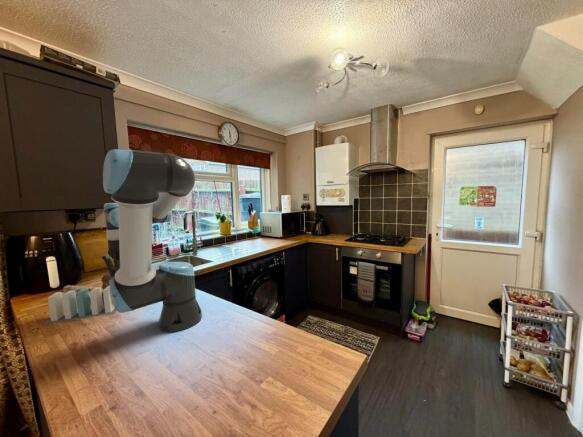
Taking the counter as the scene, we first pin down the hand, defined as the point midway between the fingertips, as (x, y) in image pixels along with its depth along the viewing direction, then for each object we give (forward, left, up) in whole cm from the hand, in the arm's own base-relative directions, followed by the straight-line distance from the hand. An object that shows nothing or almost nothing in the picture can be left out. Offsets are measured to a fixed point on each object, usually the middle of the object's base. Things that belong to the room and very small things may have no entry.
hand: (123, 291), depth 104 cm
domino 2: (+13, +15, -8) cm, 21 cm away
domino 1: (+16, +18, -8) cm, 25 cm away
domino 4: (+4, +4, -8) cm, 9 cm away
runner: (+10, +11, -8) cm, 17 cm away
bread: (+14, -9, -9) cm, 18 cm away
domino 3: (+7, +8, -8) cm, 13 cm away
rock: (+28, +7, -9) cm, 30 cm away
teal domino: (+10, +11, -8) cm, 17 cm away
